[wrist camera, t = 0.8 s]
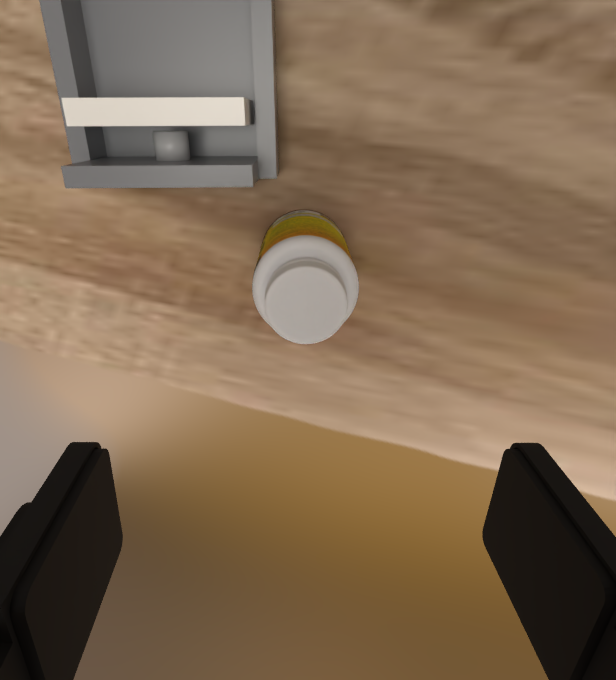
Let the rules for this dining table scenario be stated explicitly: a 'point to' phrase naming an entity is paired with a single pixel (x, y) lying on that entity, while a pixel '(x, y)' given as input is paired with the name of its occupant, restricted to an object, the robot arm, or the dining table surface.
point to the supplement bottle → (305, 278)
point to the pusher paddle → (159, 111)
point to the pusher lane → (166, 88)
